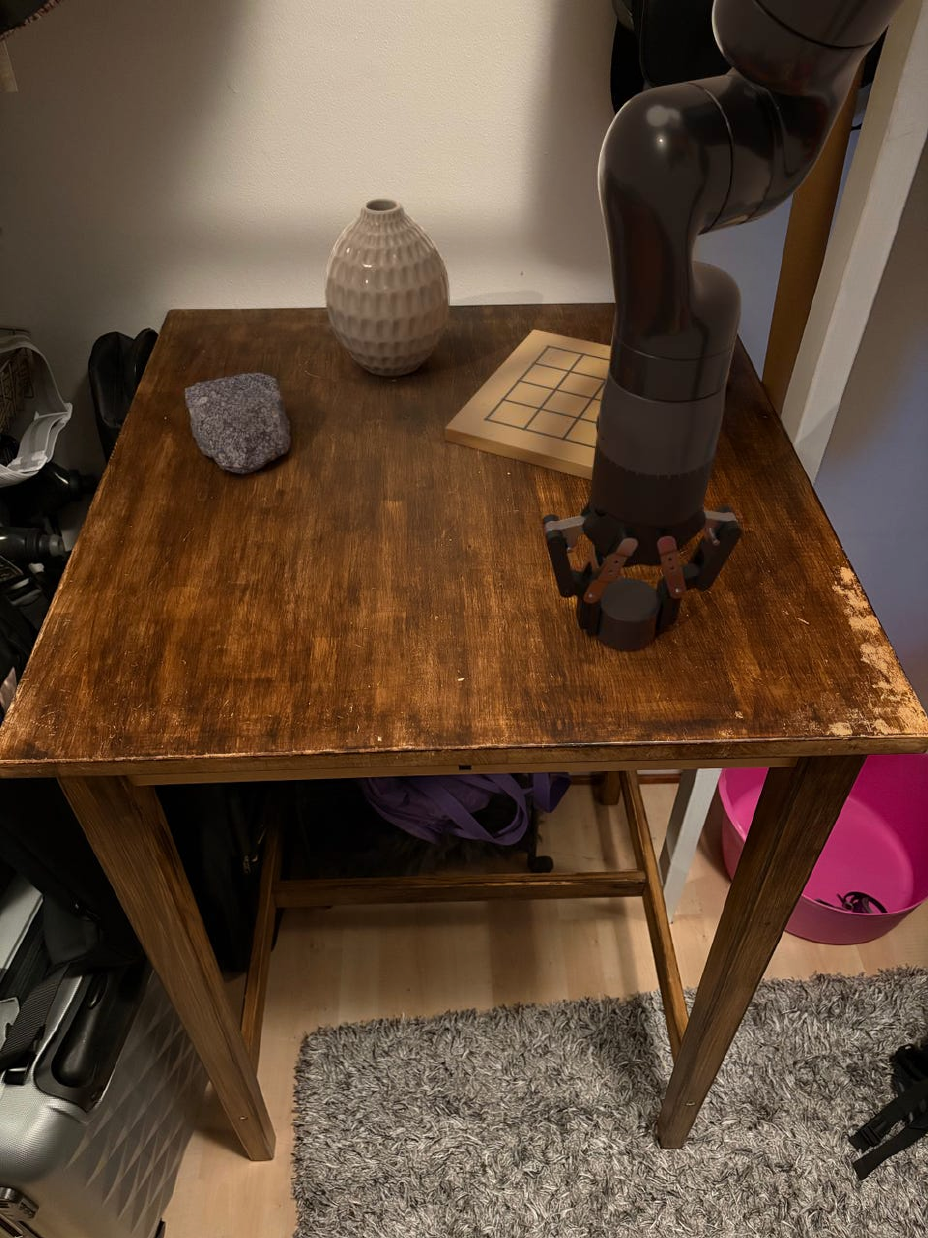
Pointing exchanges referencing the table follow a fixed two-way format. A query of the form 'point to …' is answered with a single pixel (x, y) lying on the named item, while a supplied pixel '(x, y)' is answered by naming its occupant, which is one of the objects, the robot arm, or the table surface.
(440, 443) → the table surface
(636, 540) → the robot arm
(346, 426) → the table surface
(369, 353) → the vase
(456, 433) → the board
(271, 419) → the rock
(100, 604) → the table surface
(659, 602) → the dark grey puck
